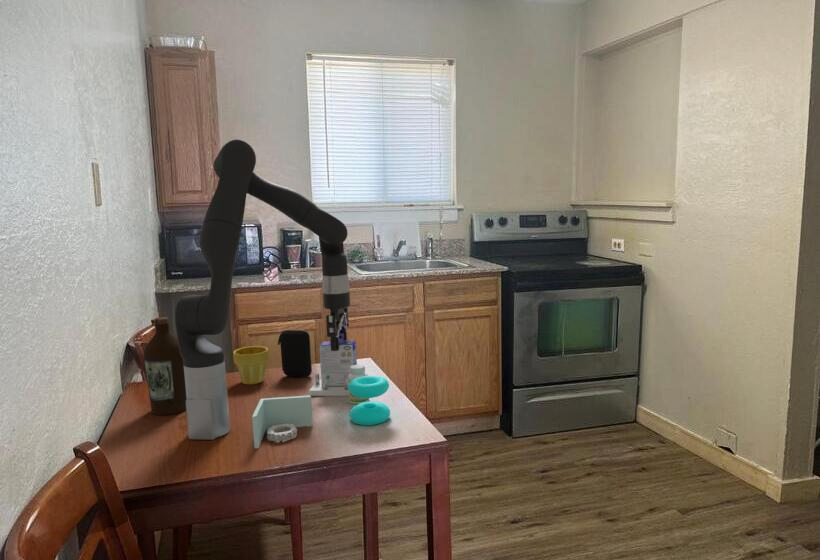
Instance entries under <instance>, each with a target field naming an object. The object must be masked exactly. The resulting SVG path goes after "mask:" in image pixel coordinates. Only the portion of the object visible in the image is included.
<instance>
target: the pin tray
mask: <svg viewBox="0 0 820 560" xmlns="http://www.w3.org/2000/svg"><path fill="white" fill-rule="evenodd" d="M314 379H315V381H314V382H315V383H314V385H313V386H312V387H311V388H310V389H309V390H308V394H309V395H311V397H313V396H315V397H317V396H318V397H320V396H321V397H324V396H325V397H349V390H348V378H345V379H344V386H328V382H327V378H324V379H323V386H322V383H321V377H320V373H318V372H316V373H314ZM309 395H308V396H309Z"/></svg>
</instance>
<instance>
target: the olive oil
mask: <svg viewBox="0 0 820 560" xmlns="http://www.w3.org/2000/svg"><path fill="white" fill-rule="evenodd" d="M154 322H155V324H154V327H155V334H154V335H153V336H152V338H150V339H149V341H148V342H147V344H146V345H145V346H144V350H143V354H142V356H143V357H142V358H143V364H144V370H145V371H144V372H145V376H146V382H147V389H148V396H149V402H150V403H149V404H150V410H151V413H152V414H153V415H156V416H170V415H169V414H171V415H174V414H175V415H176V414H179V413H182V412H184V411H186V400H187V397H186V387H185V375H184V365H183V359H182V357H181V355H180V351H179V345H178V338H177V335H174V334H173V333H172V332H171V331H170V323H169V317H166V316H163V317H156V318H155V319H154Z"/></svg>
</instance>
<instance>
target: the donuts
mask: <svg viewBox="0 0 820 560" xmlns="http://www.w3.org/2000/svg"><path fill="white" fill-rule="evenodd" d="M389 384H390V383H389V381H388V380H387V378H385V377H383V376H378V375H368V376H362V377H358V378H355V379H353V380H352V381H351V382H350V383H349V385H348V390H349V392H350V393H351V394H352V395H354V396H356V397H359V398H369V399H374V398H378V397H380V396H382V395H384V394H385V393H386V392H387V391H388V390H389V388H390V385H389ZM390 416H391V410H390V408H389V406H388V405H387V404H385V403H383V402H379V401H368V402H363V403H360V404H355V405H354V406H353V407H352V408H351V410H350V411H349V417H350V420H351V421H352V422H353V423H355V424H358V425H362V426H374V425H378V424H383V423H384V422H386V421H387V420H388V419H389V418H390Z"/></svg>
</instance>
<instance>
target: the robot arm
mask: <svg viewBox="0 0 820 560" xmlns="http://www.w3.org/2000/svg"><path fill="white" fill-rule="evenodd" d="M256 162H257V156H256V153H255V150H254V148H253V147H252V145H251V144H250V143H249V142H247V141H245V140H243V139H240V138H239V139H238V138H237V139H236V138H235V139H232V140H229V141H228V142H226V143H225V144H224V145H223V146H222V147H221V149H220V151H218V154H217V155H216V157H215V159H214V160H213V171H214V172H215V175H216V177H218V182H217V186H216V188H215V192H214V193H213V196H212V198H211V200H210V202H209V205H208V207H207V210H206V212H205V215H204V218H203V221H202V222H203V223H202V227H201V231H200V236H199V247H200V248H199V249H200V250H201V253H202V256H203V258H204V261H205V263H206V265H207V267H208V270H209V272H210V286H209V293H208V294H205V295H204V294H202V295H201V294H199V295H195V294H193V295H184V296H182V297H180V298H179V299H178V301H177V303H176V305H175V308H174V323H175V331H176V337H177V338H178V345H179V351H180V355H181V357H182V359H183V365H184V375H185V387H186V397H187V400H186V410H185V411H186V421H187V431H188V439H189V440H207V441H208V440H212V441H213V440H215V439H217V438H220V437H222V436H224V435H227V434H228V433H229V432H230V431H231V423H230V419H231V418H230V409H229V398H228V397H229V396H228V385H227V374H226V361H225V351H224V349H223V348H222V347H220V346H218V345H217V344H213V343H212V342H210V341H209V340H208V339H206V337H204V336H209V335H210V336H212V335H213V336H215V335H220V334H221V333H223V332H224V330H225V328H226V327H227V323H228V320H229V314H230V308H231V307H230V306H231V297H232V286H233V285H232V284H233V277H234V276H233V275H234V270H235V263H236V259H237V254H238V250H239V247H240V246H239V245H240V240H241V236H242V229H243V222H244V215H245V209H246V201H247V194H248V195H249V196H252V197H254V198H255V199H258V200H260V201H261V202H264V203H265V204H267V205H269V206H271V207H272V208H274V209H276V210H278V211H279V212H281V213H282V214H284V215H285V216H286V217H288V218H289V219H291V220H292V221H294V222H295V223H297V224H298V225H299V226H301V227H303V228H306V229H308V230H309V231H311V232H312V233H313V234H315V235H316V236H317V237H318V242H319V249H320V253H321V254H320V255H321V273H322V279H321V280H322V282H321V283H322V284H321V286H322V303H323V304H322V305H323V308H324V309H327V310H329V314H327V315H326V317H325V318H326V319H325V320H326V321H325V322H326V336H327V338H329V340H330V343H331V351H338V350H339V338H342V336H339V333H344V341H348V335H347V333H348V332H347V331H348V328H349V326H350V324H349V323H350V322H349V309H348V308H349V307H350V306H351V294H350V293H351V291H350V280H349V279H350V278H349V275H348V273H349V271H348V260H347V259H348V258H347V256H346V254H345V250H344V249H345V248H344V242H345V241H346V239H347V238H348V228H347V226H346V224H345V223H343V221H341V220H340V219H339V218H337V217H335V216H333V215H332V214H330V213H329V212H326V210H323V209H321V208H320V207H319V206H317V205H316V204H315V203H314V202H313V201H311V200H310V199H308V198H307V197H306V196H304V195H303V194H301V193H300V192H298V191H296V190H294V189H292V188H289V187H286V186H283V185H279V184H277V183H274V182H271V181H270V180H267V179H265V178H264V177H261V175H259V174H257V173H256V172H255V171H254V170H255V167H256V164H257V163H256Z"/></svg>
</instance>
